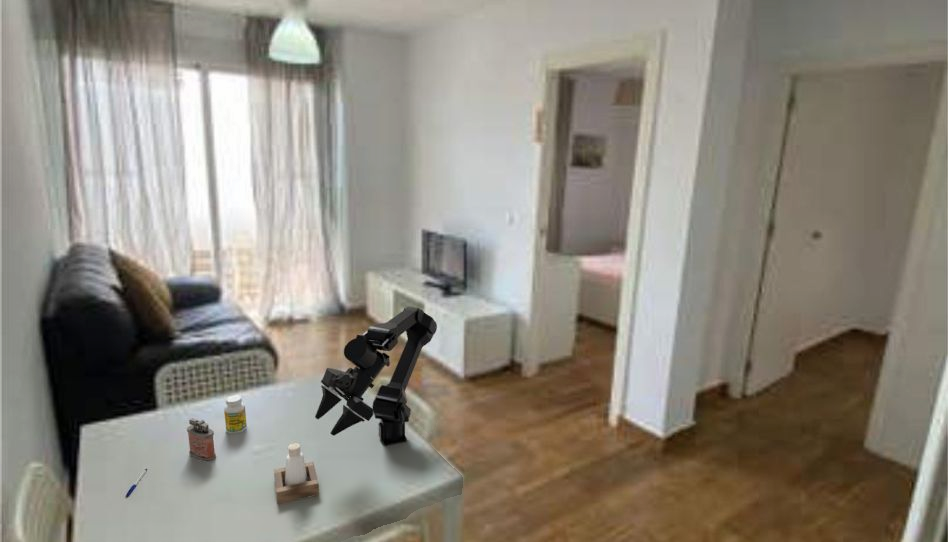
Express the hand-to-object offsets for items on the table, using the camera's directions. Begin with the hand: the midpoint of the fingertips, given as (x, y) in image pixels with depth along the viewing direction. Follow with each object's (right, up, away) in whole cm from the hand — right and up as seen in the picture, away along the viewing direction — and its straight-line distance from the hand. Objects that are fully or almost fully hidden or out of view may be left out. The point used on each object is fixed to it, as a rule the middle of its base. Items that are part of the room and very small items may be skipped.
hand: (324, 426), depth 127 cm
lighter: (-34, -11, +10) cm, 37 cm away
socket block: (-6, -14, -1) cm, 15 cm away
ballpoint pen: (-44, -13, -1) cm, 46 cm away
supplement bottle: (-31, -8, +23) cm, 39 cm away
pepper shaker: (-6, -14, -1) cm, 16 cm away
